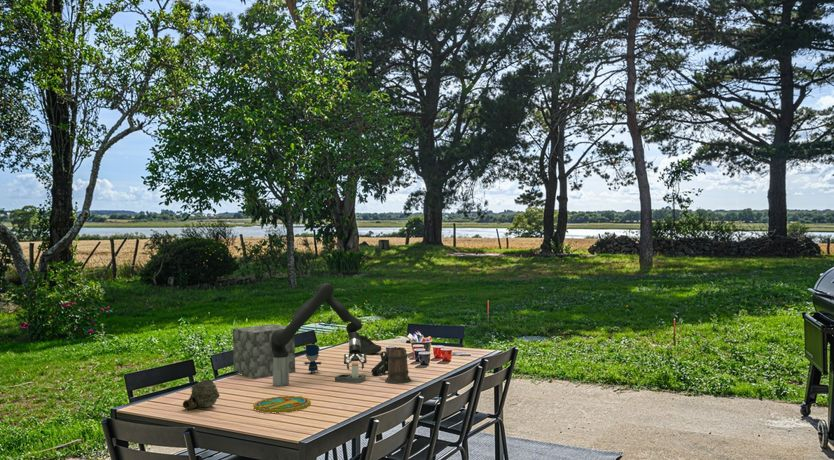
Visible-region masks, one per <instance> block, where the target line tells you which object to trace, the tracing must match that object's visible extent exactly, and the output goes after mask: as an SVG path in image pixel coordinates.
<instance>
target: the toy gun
mask: <svg viewBox="0 0 834 460" xmlns="http://www.w3.org/2000/svg"><path fill="white" fill-rule="evenodd" d="M387 353H388V354H389V351H387ZM383 356H384V359H385V354H383ZM385 361H386V372H388V358H387V359H385ZM380 368H381V369H382V372H381V371H380V372H381V374H382V373H383V369H384V365H383V361H382V360H380V362H378V363H377V364H376V365H375V366H374V367H373V368H372V369H371V376H374V377H376V376H379V375H378V373H377V370H378V369H380Z"/></svg>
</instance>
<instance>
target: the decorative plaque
mask: <svg viewBox="0 0 834 460" xmlns="http://www.w3.org/2000/svg"><path fill="white" fill-rule="evenodd" d="M310 406H311V399H310V398H308V397H305V396H301V395H300V396H299V395H298V396H295V395H285V396H284V395H283V396H282V395H280V396H273V397H268V398H267V397H266V398H263V399H261V400H257V402H254V404H253V406H252V407H254V408H253V410H254V409H256V410H259V411H263V412H270V413H272V412H276V413H275V414H277V413H278V414H280V413H279V412H287V413H293V412H297V411H296V410H299V409H303V410H305V409H307V407H310ZM256 410H255V411H256ZM259 411H258V412H259ZM292 411H293V412H292ZM299 411H300V410H299ZM263 412H262V413H263ZM270 413H269V414H270ZM272 414H273V413H272Z"/></svg>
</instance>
